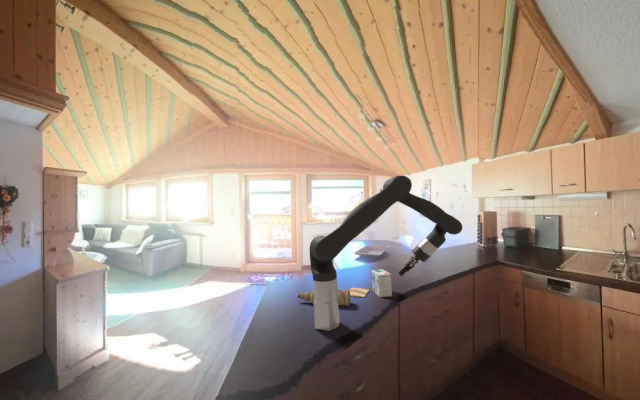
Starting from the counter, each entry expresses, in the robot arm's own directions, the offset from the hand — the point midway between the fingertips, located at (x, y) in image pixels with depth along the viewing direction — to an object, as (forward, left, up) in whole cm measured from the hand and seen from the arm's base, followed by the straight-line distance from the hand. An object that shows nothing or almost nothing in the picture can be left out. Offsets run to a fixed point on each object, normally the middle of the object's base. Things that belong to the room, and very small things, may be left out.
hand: (399, 274), depth 116 cm
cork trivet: (-3, +21, -10) cm, 24 cm away
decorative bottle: (-20, +32, -10) cm, 39 cm away
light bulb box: (0, +9, -10) cm, 14 cm away
